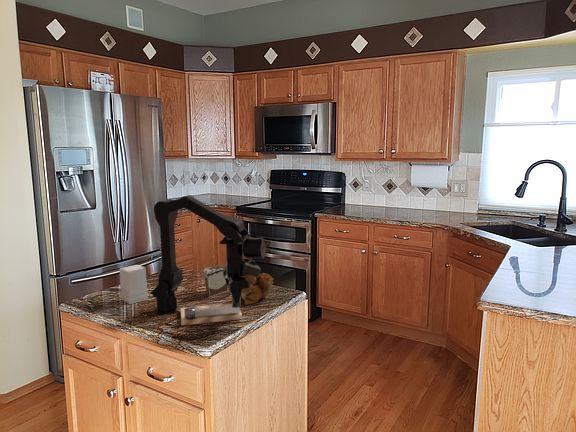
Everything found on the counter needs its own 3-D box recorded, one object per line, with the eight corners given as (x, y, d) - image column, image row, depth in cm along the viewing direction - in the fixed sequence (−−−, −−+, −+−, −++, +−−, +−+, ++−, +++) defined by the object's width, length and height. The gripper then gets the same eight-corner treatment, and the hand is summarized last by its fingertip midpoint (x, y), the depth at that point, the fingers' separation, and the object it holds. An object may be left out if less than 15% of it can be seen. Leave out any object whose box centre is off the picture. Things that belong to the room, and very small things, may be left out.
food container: (220, 287, 185) (219, 263, 183) (230, 290, 181) (229, 266, 179) (196, 295, 175) (195, 270, 174) (206, 298, 171) (205, 273, 170)
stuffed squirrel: (232, 297, 172) (231, 264, 170) (266, 292, 178) (265, 260, 176) (241, 306, 163) (240, 271, 161) (276, 300, 169) (275, 266, 167)
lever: (184, 319, 146) (183, 295, 145) (184, 315, 150) (183, 292, 149) (241, 313, 151) (241, 290, 150) (240, 309, 154) (239, 287, 153)
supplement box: (148, 299, 171) (146, 267, 169) (129, 304, 166) (127, 271, 164) (139, 295, 176) (137, 264, 174) (121, 299, 171) (118, 268, 169)
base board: (181, 325, 146) (181, 320, 146) (180, 312, 158) (180, 307, 157) (242, 319, 151) (242, 314, 151) (237, 306, 162) (237, 302, 162)
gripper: (264, 261, 143) (265, 308, 145) (252, 249, 160) (254, 290, 163) (229, 264, 140) (231, 312, 142) (221, 251, 157) (223, 294, 160)
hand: (236, 301), depth 152 cm, fingers open, 3 cm apart
